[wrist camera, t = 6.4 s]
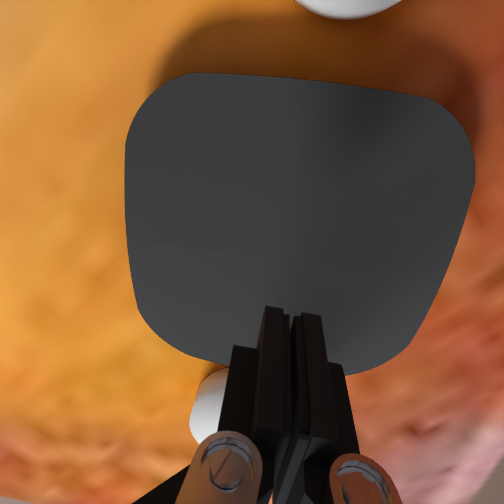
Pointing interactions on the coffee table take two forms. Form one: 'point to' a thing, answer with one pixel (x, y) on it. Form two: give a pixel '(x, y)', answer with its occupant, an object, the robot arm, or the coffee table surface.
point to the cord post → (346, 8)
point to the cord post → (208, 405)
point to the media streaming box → (291, 211)
